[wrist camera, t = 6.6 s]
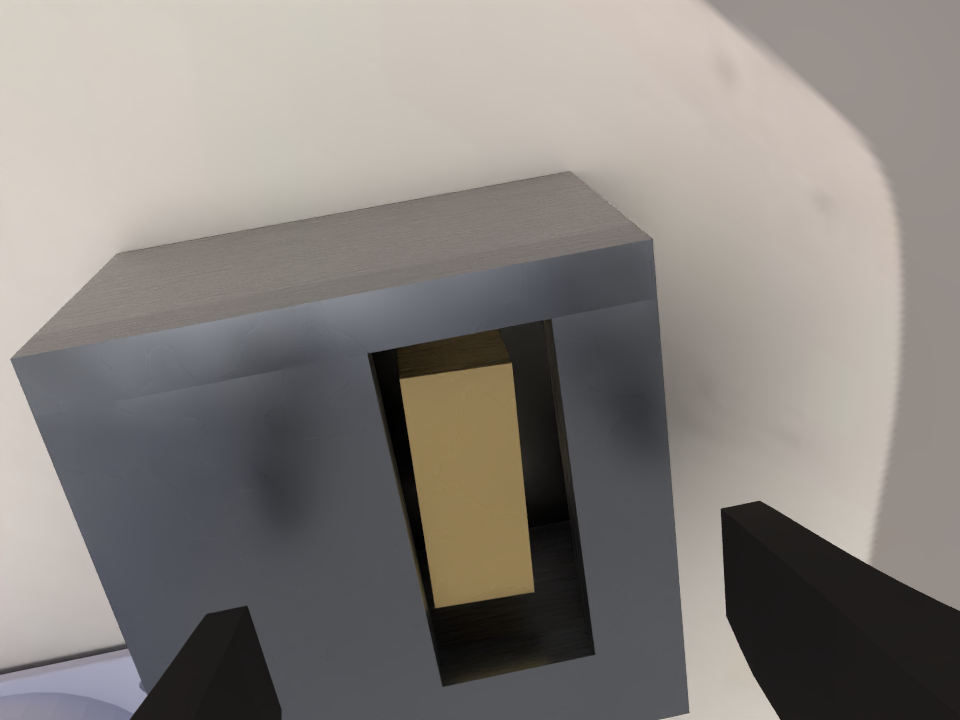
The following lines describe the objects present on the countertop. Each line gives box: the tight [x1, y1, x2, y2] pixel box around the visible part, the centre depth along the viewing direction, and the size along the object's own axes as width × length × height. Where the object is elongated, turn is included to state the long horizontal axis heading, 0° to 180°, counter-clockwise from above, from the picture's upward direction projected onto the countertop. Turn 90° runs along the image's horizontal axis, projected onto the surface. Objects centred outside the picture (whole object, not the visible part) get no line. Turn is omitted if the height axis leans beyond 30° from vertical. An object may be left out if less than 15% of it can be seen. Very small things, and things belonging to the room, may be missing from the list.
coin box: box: [11, 172, 689, 720], centre depth 18 cm, size 10×10×6 cm
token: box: [397, 329, 534, 608], centre depth 18 cm, size 5×2×5 cm, turn 6°
